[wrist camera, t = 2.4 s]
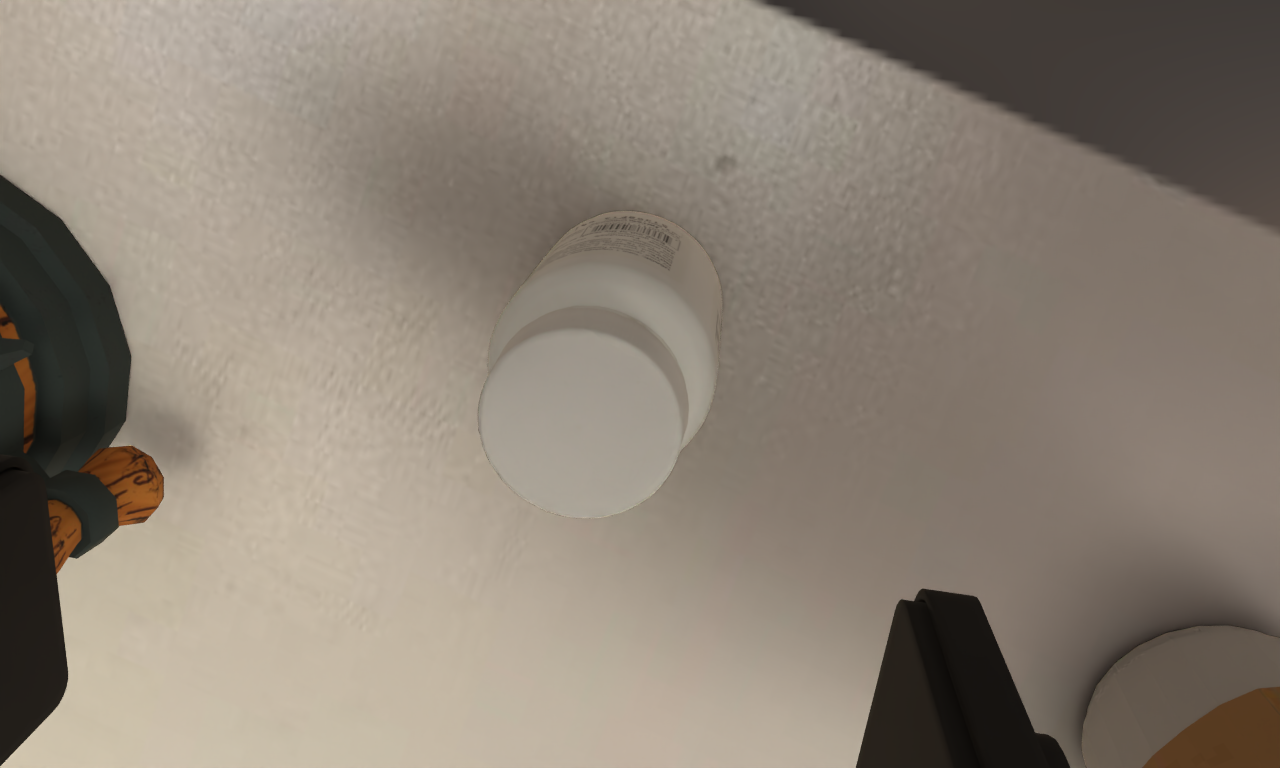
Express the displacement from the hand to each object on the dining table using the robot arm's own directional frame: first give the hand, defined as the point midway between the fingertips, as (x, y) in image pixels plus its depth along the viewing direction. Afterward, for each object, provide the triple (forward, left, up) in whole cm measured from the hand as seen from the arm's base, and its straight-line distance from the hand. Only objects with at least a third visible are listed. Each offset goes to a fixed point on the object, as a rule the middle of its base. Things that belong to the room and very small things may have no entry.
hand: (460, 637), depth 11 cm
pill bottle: (0, 0, -14) cm, 14 cm away
